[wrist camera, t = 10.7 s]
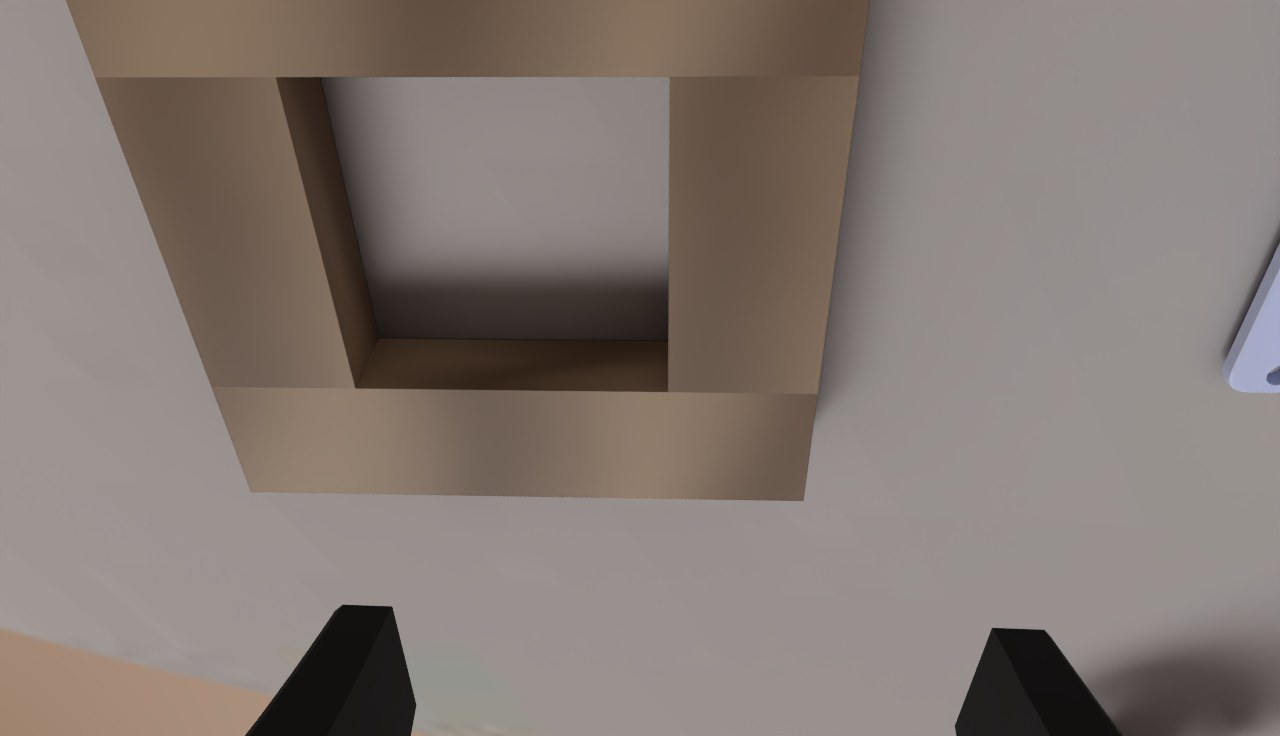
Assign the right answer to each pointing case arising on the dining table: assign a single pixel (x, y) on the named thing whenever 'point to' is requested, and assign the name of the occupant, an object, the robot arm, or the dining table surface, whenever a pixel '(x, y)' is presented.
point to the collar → (492, 369)
